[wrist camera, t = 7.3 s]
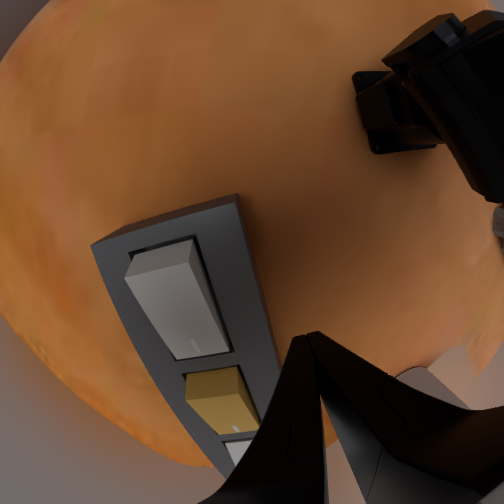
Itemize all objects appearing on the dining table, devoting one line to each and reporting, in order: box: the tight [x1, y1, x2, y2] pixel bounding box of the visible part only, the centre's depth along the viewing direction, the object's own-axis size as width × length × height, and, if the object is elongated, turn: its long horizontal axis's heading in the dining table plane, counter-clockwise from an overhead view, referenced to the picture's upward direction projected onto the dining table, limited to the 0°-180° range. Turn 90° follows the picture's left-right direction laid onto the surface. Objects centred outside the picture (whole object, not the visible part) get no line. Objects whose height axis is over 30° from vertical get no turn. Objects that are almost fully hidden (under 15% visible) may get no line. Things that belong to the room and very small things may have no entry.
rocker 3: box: [225, 437, 254, 466], centre depth 21 cm, size 4×7×2 cm, turn 14°
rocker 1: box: [124, 239, 229, 359], centre depth 16 cm, size 4×7×2 cm, turn 14°
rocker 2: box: [185, 366, 260, 435], centre depth 18 cm, size 4×7×2 cm, turn 14°
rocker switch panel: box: [90, 194, 282, 479], centre depth 21 cm, size 9×28×5 cm, turn 14°
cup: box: [396, 367, 471, 410], centre depth 20 cm, size 9×9×12 cm
